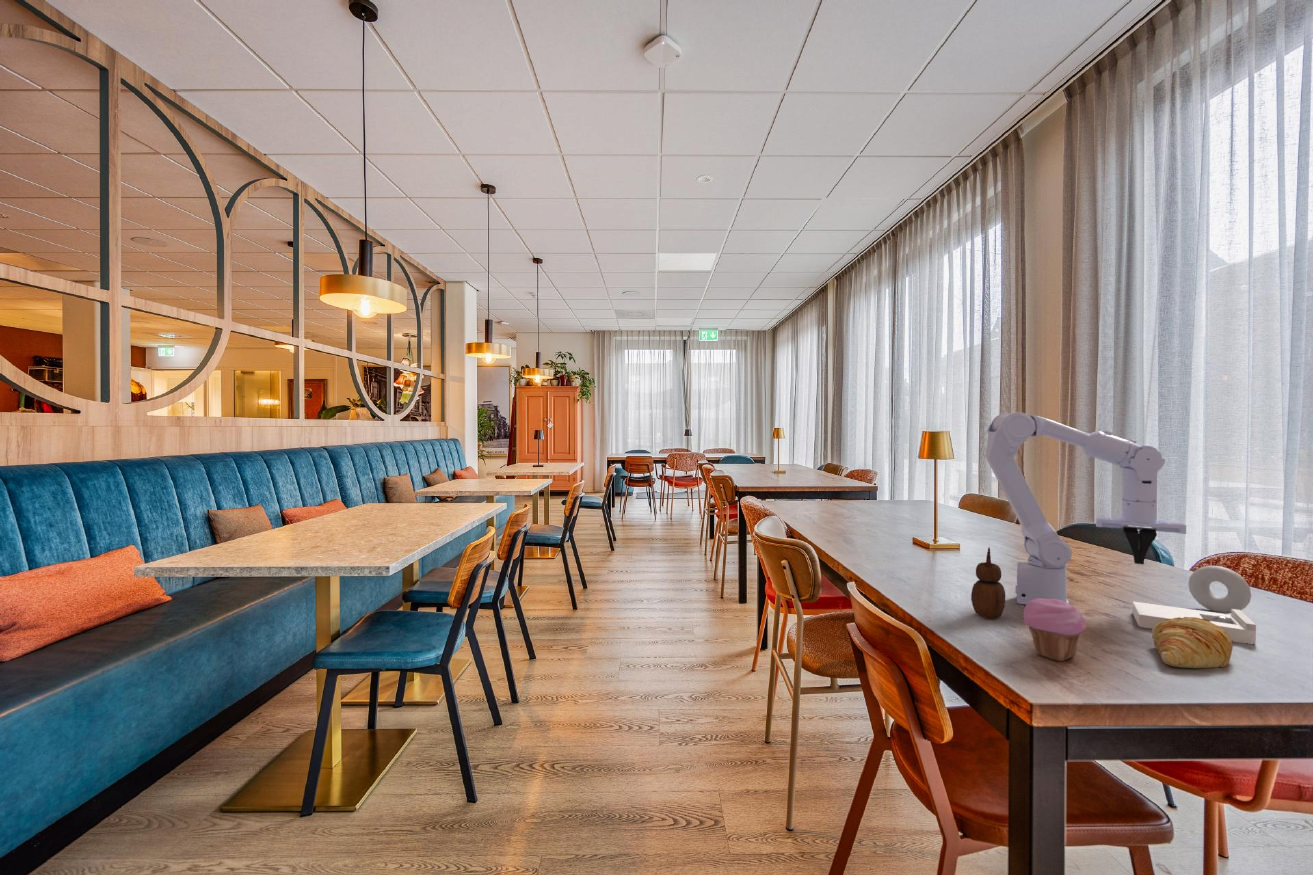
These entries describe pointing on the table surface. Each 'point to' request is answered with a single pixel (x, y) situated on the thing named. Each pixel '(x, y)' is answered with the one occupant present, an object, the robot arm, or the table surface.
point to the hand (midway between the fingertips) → (1138, 563)
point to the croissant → (1192, 643)
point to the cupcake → (1054, 627)
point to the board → (1154, 614)
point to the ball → (1221, 619)
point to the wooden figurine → (988, 590)
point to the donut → (1232, 580)
